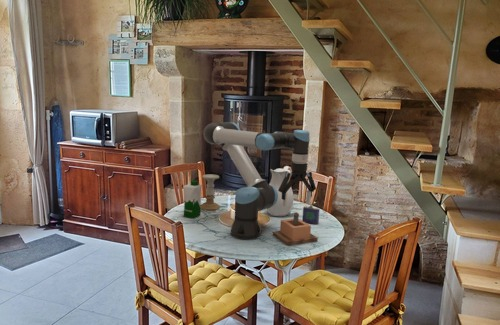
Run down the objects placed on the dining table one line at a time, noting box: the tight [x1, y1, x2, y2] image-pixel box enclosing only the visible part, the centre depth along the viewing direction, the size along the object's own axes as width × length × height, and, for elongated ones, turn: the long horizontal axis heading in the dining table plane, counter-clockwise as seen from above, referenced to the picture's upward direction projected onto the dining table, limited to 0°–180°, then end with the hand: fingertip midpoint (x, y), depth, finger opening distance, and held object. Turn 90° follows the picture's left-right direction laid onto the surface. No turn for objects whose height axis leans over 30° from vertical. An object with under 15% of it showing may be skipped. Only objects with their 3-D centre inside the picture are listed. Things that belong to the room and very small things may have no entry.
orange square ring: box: [279, 218, 312, 240], centre depth 186 cm, size 10×12×6 cm
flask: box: [301, 204, 320, 226], centre depth 210 cm, size 9×3×11 cm, turn 68°
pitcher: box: [266, 165, 294, 217], centre depth 227 cm, size 24×17×28 cm
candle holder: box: [201, 173, 221, 212], centre depth 229 cm, size 12×12×20 cm
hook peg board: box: [272, 212, 319, 247], centre depth 186 cm, size 17×15×13 cm
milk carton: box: [182, 180, 202, 220], centre depth 212 cm, size 9×9×20 cm
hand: (296, 204), depth 184 cm, fingers open, 13 cm apart
